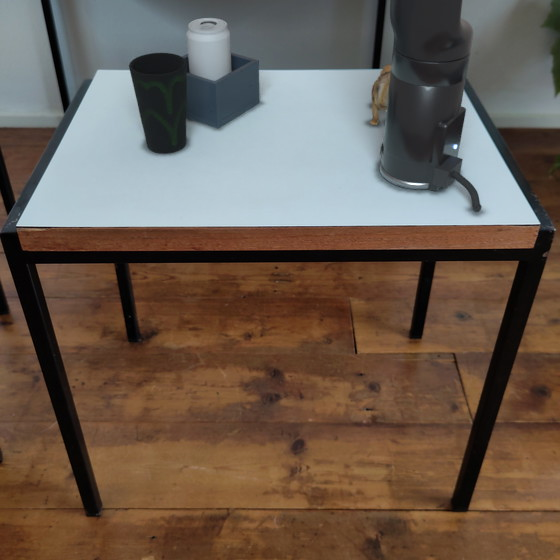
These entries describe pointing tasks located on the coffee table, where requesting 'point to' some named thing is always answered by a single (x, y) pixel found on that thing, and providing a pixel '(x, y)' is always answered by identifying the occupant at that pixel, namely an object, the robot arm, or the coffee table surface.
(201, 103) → the open box
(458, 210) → the coffee table surface
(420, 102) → the robot arm
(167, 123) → the cup
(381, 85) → the lion figurine
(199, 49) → the beverage can
